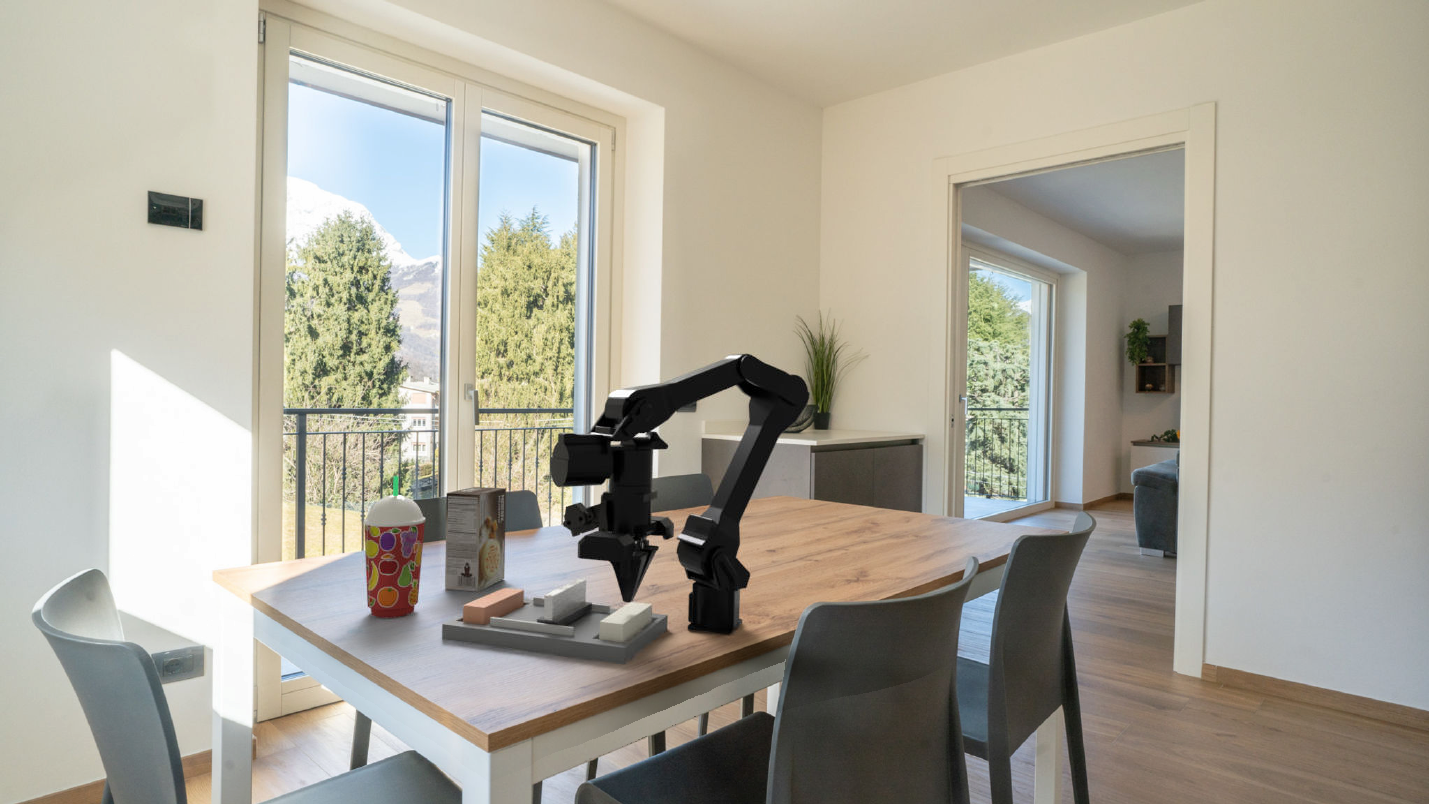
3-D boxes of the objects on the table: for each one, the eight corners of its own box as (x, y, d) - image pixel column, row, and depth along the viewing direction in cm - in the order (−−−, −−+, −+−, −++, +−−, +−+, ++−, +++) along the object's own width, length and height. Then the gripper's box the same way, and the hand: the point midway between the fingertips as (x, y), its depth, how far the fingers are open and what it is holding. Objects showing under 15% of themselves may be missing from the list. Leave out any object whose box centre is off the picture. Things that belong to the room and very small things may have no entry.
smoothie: (399, 602, 117) (402, 472, 117) (435, 611, 112) (438, 476, 112) (348, 614, 110) (352, 476, 109) (385, 624, 105) (389, 480, 105)
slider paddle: (591, 609, 107) (592, 580, 107) (557, 629, 98) (558, 597, 98) (572, 607, 108) (573, 578, 108) (536, 627, 99) (537, 594, 99)
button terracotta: (523, 607, 110) (523, 590, 110) (483, 626, 101) (484, 607, 101) (504, 604, 111) (504, 587, 111) (462, 623, 102) (463, 605, 102)
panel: (667, 629, 107) (667, 607, 107) (624, 664, 92) (625, 639, 92) (504, 609, 114) (505, 589, 114) (442, 639, 100) (442, 616, 100)
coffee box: (471, 576, 134) (474, 486, 134) (505, 579, 133) (507, 487, 133) (443, 589, 125) (445, 492, 125) (478, 592, 124) (481, 494, 124)
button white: (651, 622, 105) (652, 604, 105) (622, 644, 95) (622, 624, 95) (630, 619, 106) (630, 601, 106) (599, 641, 96) (599, 621, 96)
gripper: (604, 474, 112) (602, 580, 112) (540, 487, 94) (537, 614, 94) (676, 478, 108) (673, 587, 108) (623, 493, 90) (620, 624, 91)
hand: (627, 601), depth 100 cm, fingers closed
